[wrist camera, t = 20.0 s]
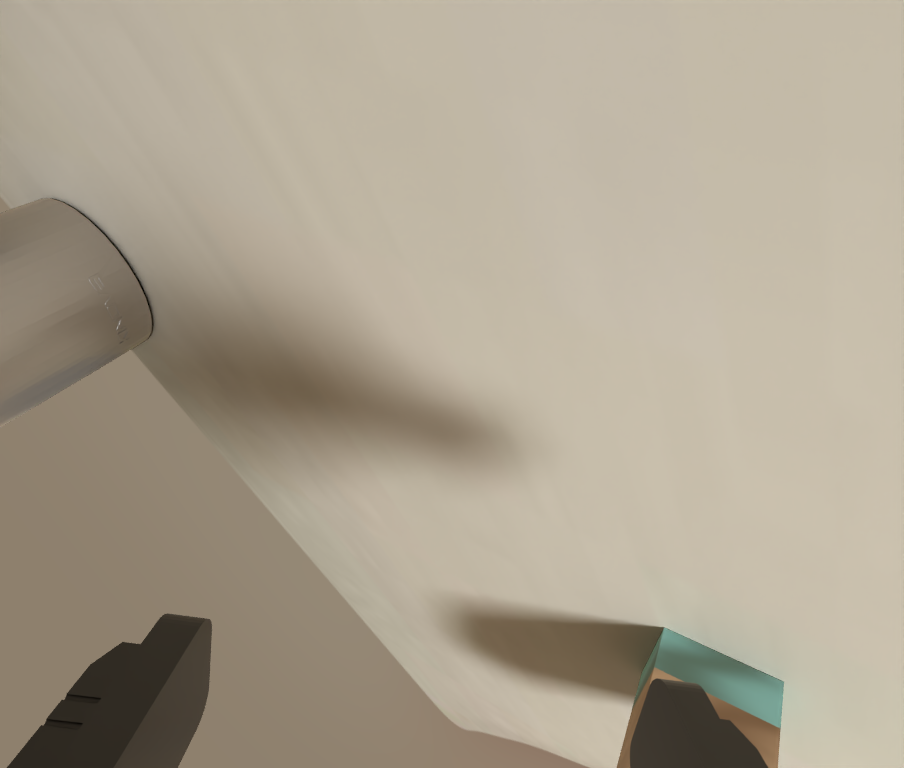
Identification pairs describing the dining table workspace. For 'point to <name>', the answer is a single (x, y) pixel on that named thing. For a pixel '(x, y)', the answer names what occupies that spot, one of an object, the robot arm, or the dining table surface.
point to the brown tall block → (715, 691)
